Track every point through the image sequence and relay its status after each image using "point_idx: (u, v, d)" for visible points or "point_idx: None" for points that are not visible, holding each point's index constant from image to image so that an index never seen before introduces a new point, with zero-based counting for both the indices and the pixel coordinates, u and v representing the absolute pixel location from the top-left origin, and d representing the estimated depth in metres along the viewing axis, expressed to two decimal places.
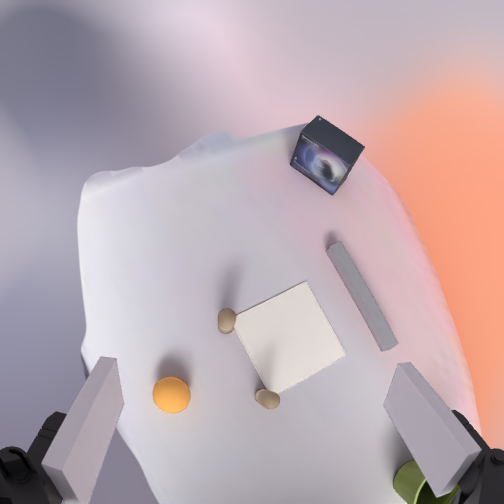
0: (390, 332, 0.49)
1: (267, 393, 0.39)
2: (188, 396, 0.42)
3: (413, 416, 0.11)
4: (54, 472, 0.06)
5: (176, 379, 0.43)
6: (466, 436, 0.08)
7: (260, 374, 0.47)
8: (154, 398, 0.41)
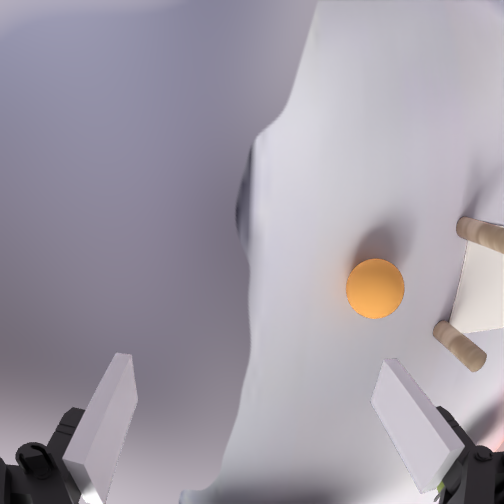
0: None
1: (482, 353, 0.25)
2: None
3: (398, 412, 0.12)
4: (75, 467, 0.07)
5: (400, 274, 0.27)
6: (449, 432, 0.09)
7: (456, 304, 0.32)
8: (360, 288, 0.26)
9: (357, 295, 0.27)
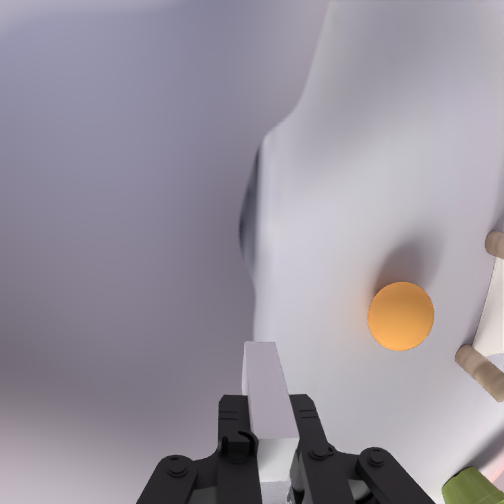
0: None
1: None
2: None
3: None
4: (264, 444, 0.09)
5: None
6: (288, 420, 0.10)
7: (480, 327, 0.28)
8: (385, 319, 0.22)
9: (382, 326, 0.22)
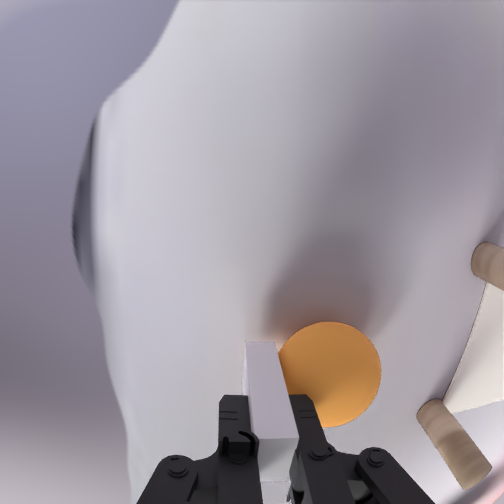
0: None
1: (485, 467, 0.12)
2: None
3: None
4: (265, 444, 0.09)
5: (375, 352, 0.14)
6: (288, 420, 0.10)
7: (457, 377, 0.20)
8: (296, 388, 0.13)
9: None
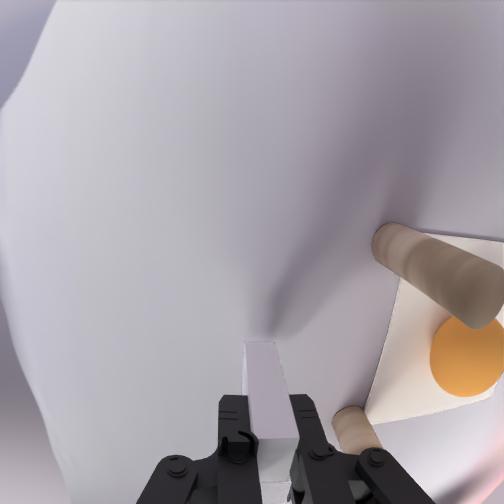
0: None
1: None
2: None
3: None
4: (264, 444, 0.09)
5: None
6: (288, 420, 0.10)
7: (377, 383, 0.19)
8: (443, 348, 0.16)
9: (437, 357, 0.16)
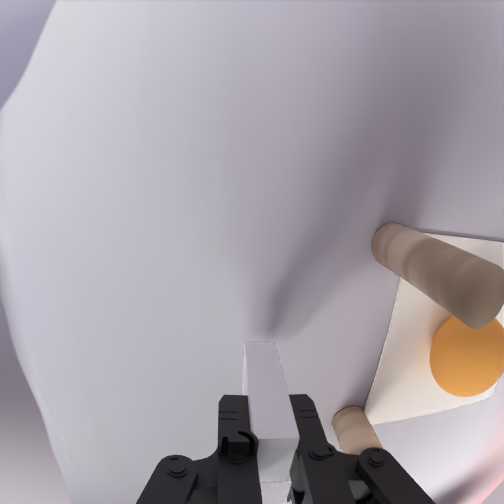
0: None
1: None
2: None
3: None
4: (264, 444, 0.09)
5: None
6: (288, 420, 0.10)
7: (377, 383, 0.19)
8: (443, 348, 0.16)
9: (438, 357, 0.16)
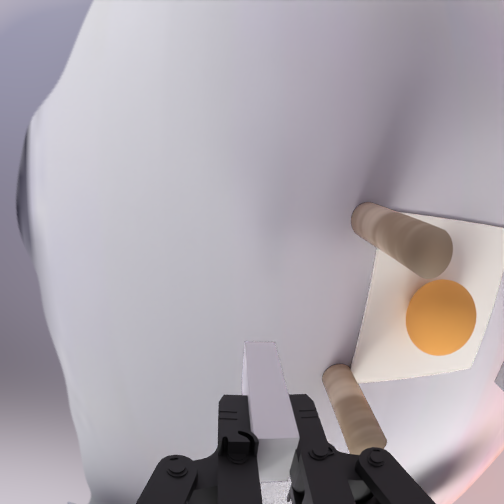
0: None
1: (374, 437, 0.16)
2: (464, 344, 0.18)
3: None
4: (264, 444, 0.09)
5: (473, 305, 0.18)
6: (288, 420, 0.10)
7: (361, 342, 0.23)
8: (415, 310, 0.20)
9: (411, 317, 0.20)
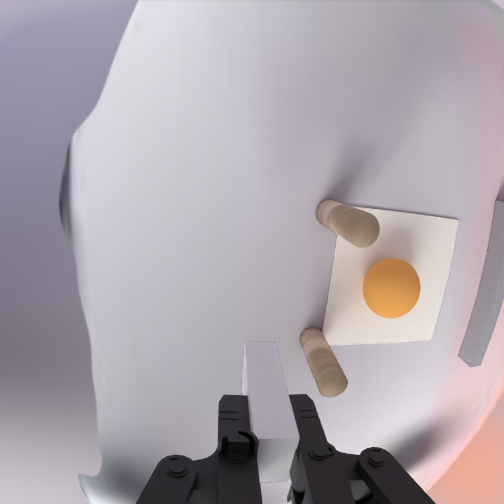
0: (484, 349, 0.31)
1: (336, 375, 0.23)
2: (411, 309, 0.26)
3: None
4: (264, 444, 0.09)
5: (415, 277, 0.26)
6: (288, 420, 0.10)
7: (329, 309, 0.30)
8: (368, 280, 0.27)
9: (365, 286, 0.27)
